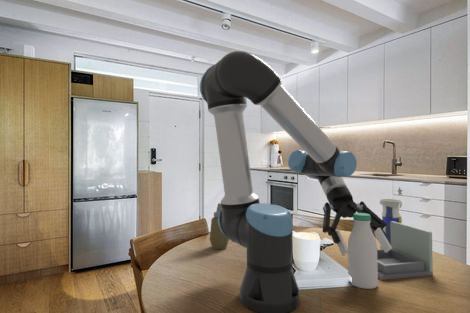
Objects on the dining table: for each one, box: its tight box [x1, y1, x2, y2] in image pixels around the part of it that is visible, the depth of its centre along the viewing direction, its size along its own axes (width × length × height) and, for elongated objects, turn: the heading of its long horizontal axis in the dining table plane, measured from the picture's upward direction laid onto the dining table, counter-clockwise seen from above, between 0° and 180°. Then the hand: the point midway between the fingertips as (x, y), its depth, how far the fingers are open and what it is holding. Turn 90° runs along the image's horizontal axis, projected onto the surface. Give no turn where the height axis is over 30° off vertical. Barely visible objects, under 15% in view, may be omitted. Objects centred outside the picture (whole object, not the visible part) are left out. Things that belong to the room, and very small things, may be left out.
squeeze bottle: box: [209, 202, 230, 250], centre depth 112 cm, size 8×8×18 cm
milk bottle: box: [347, 212, 379, 290], centre depth 79 cm, size 8×8×20 cm
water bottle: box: [379, 187, 403, 249], centre depth 111 cm, size 8×9×25 cm
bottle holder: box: [377, 221, 434, 281], centre depth 90 cm, size 18×16×13 cm
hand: (367, 251), depth 76 cm, fingers open, 13 cm apart
